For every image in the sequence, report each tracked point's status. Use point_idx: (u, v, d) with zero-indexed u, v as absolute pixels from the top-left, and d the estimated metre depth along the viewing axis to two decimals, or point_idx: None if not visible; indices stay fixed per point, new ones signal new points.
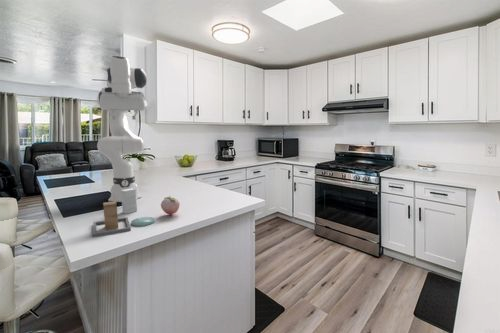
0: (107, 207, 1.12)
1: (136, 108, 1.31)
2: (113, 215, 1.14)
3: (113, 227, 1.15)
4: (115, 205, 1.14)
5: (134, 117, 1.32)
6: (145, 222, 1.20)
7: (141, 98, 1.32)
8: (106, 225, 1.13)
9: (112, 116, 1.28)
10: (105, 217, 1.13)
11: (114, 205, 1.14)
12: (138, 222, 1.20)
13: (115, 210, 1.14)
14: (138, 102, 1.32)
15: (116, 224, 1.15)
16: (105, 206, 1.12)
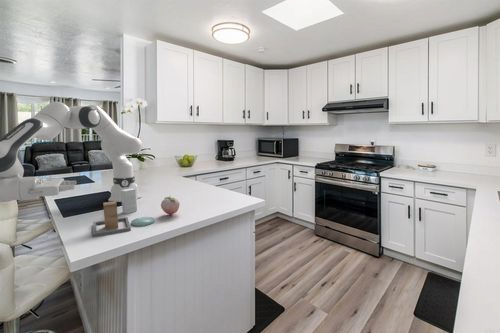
0: (107, 207, 1.12)
1: None
2: (113, 215, 1.14)
3: (113, 227, 1.15)
4: (115, 205, 1.14)
5: None
6: (145, 222, 1.20)
7: (39, 196, 0.95)
8: (106, 225, 1.13)
9: (72, 185, 1.12)
10: (105, 217, 1.13)
11: (114, 205, 1.14)
12: (138, 222, 1.20)
13: (115, 210, 1.14)
14: None
15: (116, 224, 1.15)
16: (105, 206, 1.12)
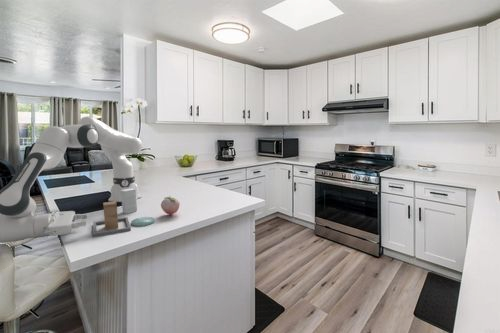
0: (107, 207, 1.12)
1: None
2: (113, 215, 1.14)
3: (113, 227, 1.15)
4: (115, 205, 1.14)
5: None
6: (145, 222, 1.20)
7: None
8: (106, 225, 1.13)
9: None
10: (105, 217, 1.13)
11: (114, 205, 1.14)
12: (138, 222, 1.20)
13: (115, 210, 1.14)
14: None
15: (116, 224, 1.15)
16: (105, 206, 1.12)
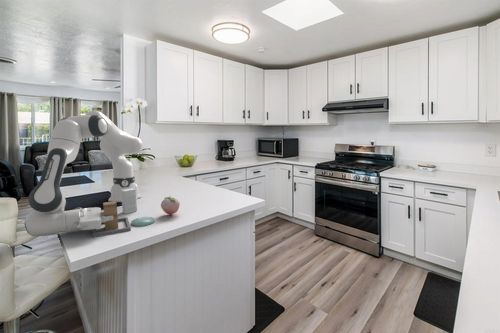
0: (107, 207, 1.12)
1: None
2: (113, 215, 1.14)
3: (113, 227, 1.15)
4: (115, 205, 1.14)
5: None
6: (145, 222, 1.20)
7: None
8: (106, 225, 1.13)
9: None
10: None
11: (114, 205, 1.14)
12: (138, 222, 1.20)
13: (115, 210, 1.14)
14: None
15: (116, 224, 1.15)
16: (105, 206, 1.12)
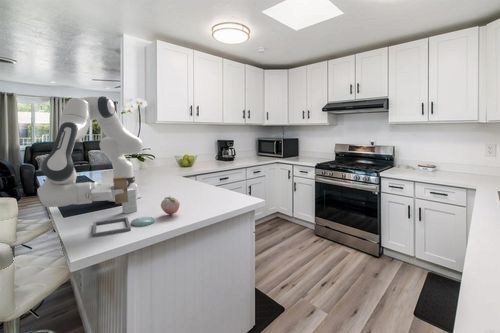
0: (117, 181, 1.13)
1: None
2: (123, 189, 1.15)
3: (123, 201, 1.15)
4: (125, 179, 1.15)
5: None
6: (145, 222, 1.20)
7: (95, 200, 1.05)
8: (116, 198, 1.14)
9: None
10: None
11: (124, 179, 1.14)
12: (138, 222, 1.20)
13: (125, 184, 1.15)
14: None
15: (126, 198, 1.16)
16: (115, 179, 1.13)
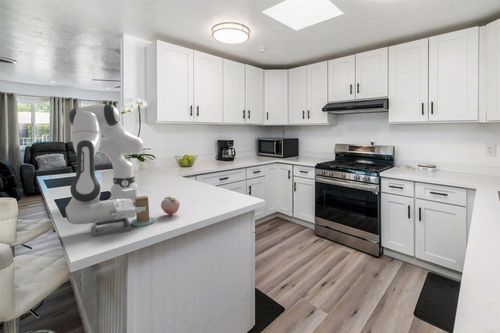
0: (139, 201, 1.19)
1: None
2: None
3: (145, 220, 1.21)
4: (147, 199, 1.20)
5: None
6: (145, 222, 1.20)
7: None
8: (138, 218, 1.19)
9: None
10: None
11: (146, 199, 1.20)
12: None
13: (147, 204, 1.20)
14: None
15: (147, 217, 1.21)
16: (138, 200, 1.18)
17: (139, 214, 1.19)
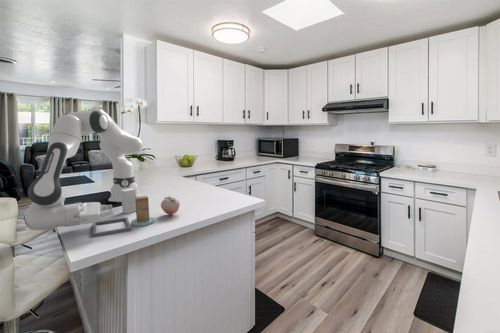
0: (139, 201, 1.19)
1: None
2: (145, 209, 1.20)
3: (145, 220, 1.21)
4: (147, 199, 1.20)
5: None
6: (145, 222, 1.20)
7: None
8: (138, 218, 1.19)
9: None
10: (138, 210, 1.19)
11: (146, 199, 1.20)
12: None
13: (147, 204, 1.20)
14: None
15: (147, 217, 1.21)
16: (138, 200, 1.18)
17: (139, 214, 1.19)
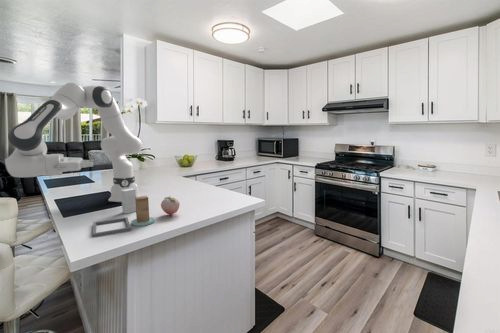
0: (139, 201, 1.19)
1: None
2: (145, 209, 1.20)
3: (145, 220, 1.21)
4: (147, 199, 1.20)
5: None
6: (145, 222, 1.20)
7: (63, 171, 1.07)
8: (138, 218, 1.19)
9: None
10: (138, 210, 1.19)
11: (146, 199, 1.20)
12: None
13: (147, 204, 1.20)
14: None
15: (147, 217, 1.21)
16: (138, 200, 1.18)
17: (139, 214, 1.19)
